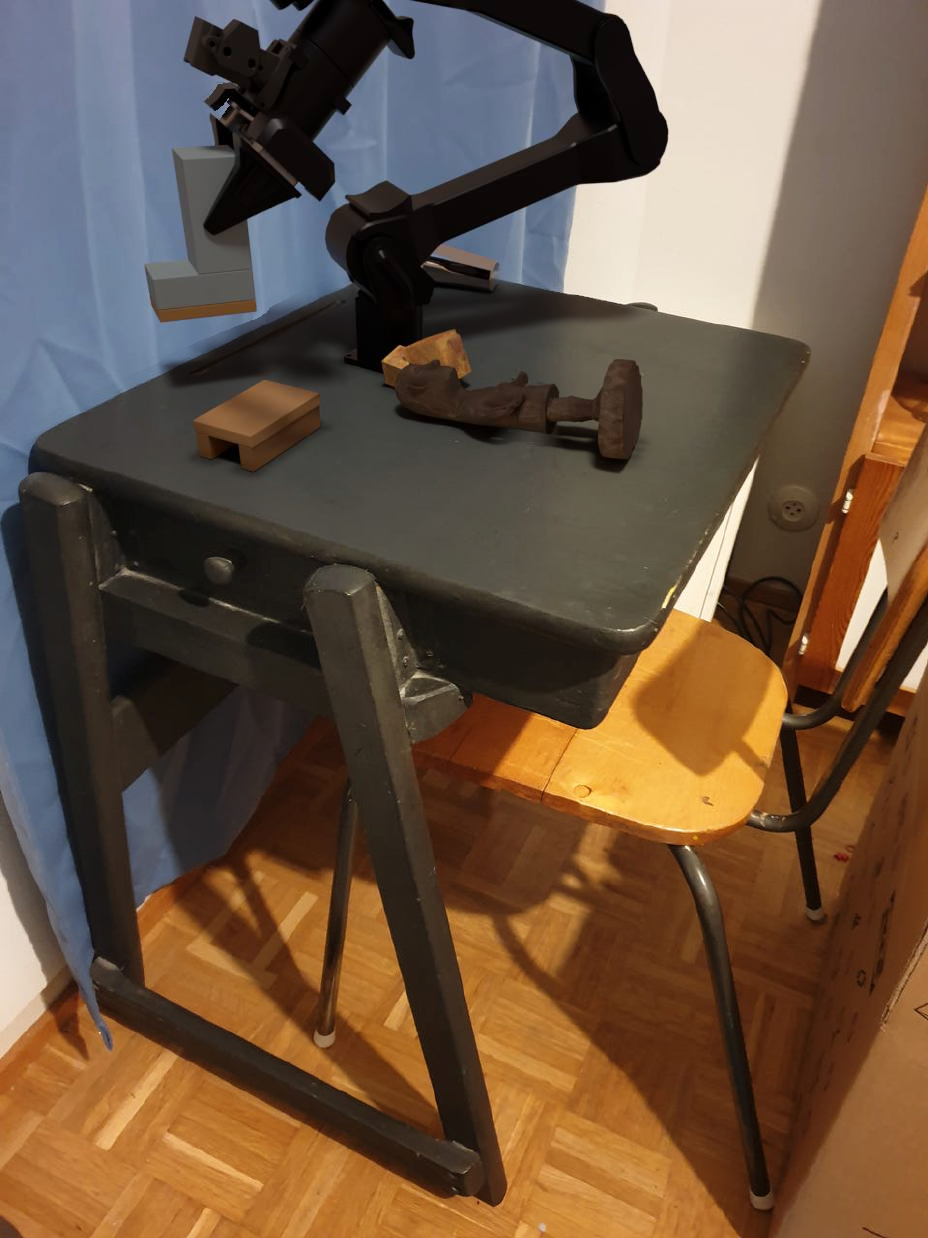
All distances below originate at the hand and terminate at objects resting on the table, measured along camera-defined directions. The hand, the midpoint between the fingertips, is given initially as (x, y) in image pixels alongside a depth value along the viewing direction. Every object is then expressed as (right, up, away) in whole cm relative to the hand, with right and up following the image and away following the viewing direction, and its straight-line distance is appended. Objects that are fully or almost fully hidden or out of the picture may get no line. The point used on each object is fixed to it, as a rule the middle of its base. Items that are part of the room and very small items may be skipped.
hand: (201, 223), depth 75 cm
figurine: (+35, -16, -3) cm, 38 cm away
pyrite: (+18, -8, +9) cm, 21 cm away
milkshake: (+25, +7, +29) cm, 39 cm away
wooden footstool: (+5, -18, -1) cm, 18 cm away
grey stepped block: (-1, -6, +4) cm, 7 cm away
